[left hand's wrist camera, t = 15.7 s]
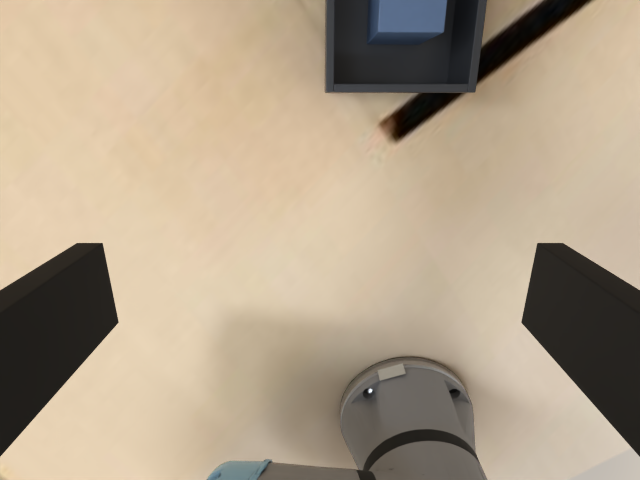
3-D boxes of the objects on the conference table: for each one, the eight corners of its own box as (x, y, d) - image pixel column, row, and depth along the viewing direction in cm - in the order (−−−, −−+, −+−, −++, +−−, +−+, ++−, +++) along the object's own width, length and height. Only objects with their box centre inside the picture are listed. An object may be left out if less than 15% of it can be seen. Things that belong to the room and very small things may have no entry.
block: (419, 44, 34) (444, 32, 27) (366, 44, 34) (377, 32, 27) (425, -18, 32) (452, -47, 25) (369, -18, 32) (381, -47, 25)
